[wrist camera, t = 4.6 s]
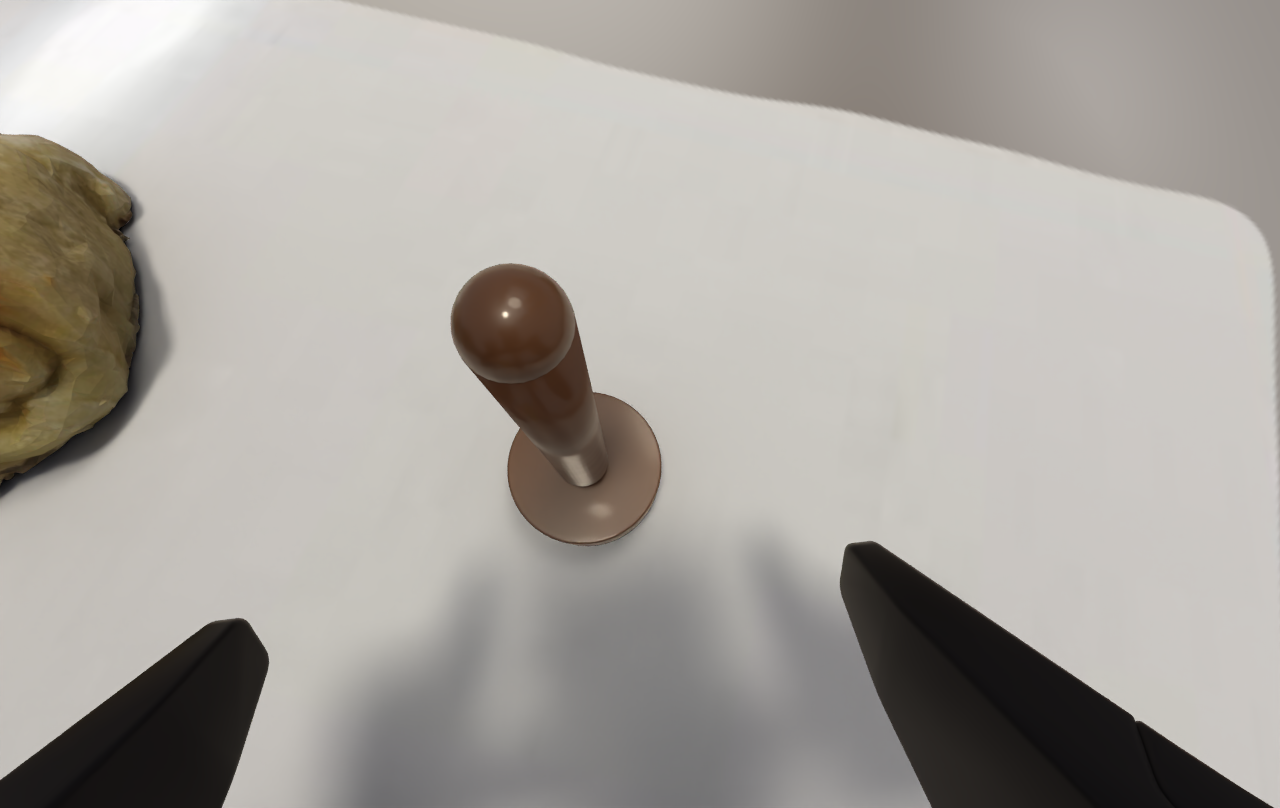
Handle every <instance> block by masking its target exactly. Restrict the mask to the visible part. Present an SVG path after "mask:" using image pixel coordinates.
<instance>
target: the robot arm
mask: <svg viewBox="0 0 1280 808" xmlns="http://www.w3.org/2000/svg"><path fill="white" fill-rule="evenodd" d="M840 590H841V594H842V598H843V601H844V603H845V606H846V609H847V612H848V614H849V617H850V620H851V623H852V625H853V628H854V631H855V634H856V637H857V639H858V642H859V645H860V648H861V650H862V653H863V656H864V659H865V661H866V664H867V667H868V670H869V672H870V675H871V678H872V680H873V683H874V686H875V688H876V691H877V693H878V696H879V698H880V700H881V702H882V705H883V707H884V709H885V711H886V713H887V715H888V717H889V719H890V721H891V724H892V726H893V728H894V730H895V732H896V734H897V736H898V738H899V740H900V742H901V744H902V746H903V748H904V751H905V753H906V755H907V757H908V759H909V761H910V763H911V765H912V767H913V769H914V771H915V773H916V775H917V777H918V780H919V782H920V784H921V786H922V788H923V790H924V792H925V794H926V796H927V798H928V800H929V802H930V804H931V806H932V808H1273V807H1272V806H1270V805H1268V804H1267V803H1265V802H1264V801H1262V800H1260V799H1259V798H1257V797H1256V796H1254V795H1252V794H1251V793H1249V792H1247V791H1246V790H1244V789H1243V788H1241V787H1239V786H1238V785H1236V784H1235V783H1233V782H1232V781H1230V780H1229V779H1227V778H1226V777H1224V776H1223V775H1221V774H1220V773H1218V772H1217V771H1215V770H1214V769H1212V768H1210V767H1209V766H1207V765H1206V764H1204V763H1203V762H1201V761H1200V760H1198V759H1197V758H1195V757H1194V756H1192V755H1191V754H1189V753H1188V752H1186V751H1185V750H1183V749H1181V748H1180V747H1178V746H1177V745H1175V744H1174V743H1173V742H1171V741H1170V740H1168V739H1167V738H1165V737H1164V736H1162V735H1161V734H1159V733H1158V732H1156V731H1155V730H1153V729H1152V728H1150V727H1149V726H1147V725H1146V724H1144V723H1143V722H1141V721H1136V722H1135V720H1134V717H1133V716H1132V715H1131V714H1129V713H1128V712H1126V711H1125V710H1123V709H1122V708H1120V707H1119V706H1117V705H1116V704H1115V703H1113V702H1112V701H1110V700H1109V699H1107V698H1106V697H1104V696H1103V695H1101V694H1100V693H1098V692H1097V691H1095V690H1094V689H1092V688H1091V687H1089V686H1088V685H1086V684H1085V683H1083V682H1082V681H1081V680H1079V679H1078V678H1076V677H1075V676H1073V675H1072V674H1070V673H1069V672H1067V671H1066V670H1064V669H1063V668H1061V667H1060V666H1058V665H1057V664H1055V663H1054V662H1052V661H1051V660H1050V659H1048V658H1047V657H1045V656H1044V655H1042V654H1041V653H1039V652H1038V651H1036V650H1035V649H1033V648H1032V647H1030V646H1029V645H1027V644H1026V643H1024V642H1023V641H1021V640H1020V639H1018V638H1017V637H1016V636H1014V635H1013V634H1011V633H1010V632H1008V631H1007V630H1005V629H1004V628H1002V627H1001V626H999V625H998V624H996V623H995V622H993V621H992V620H990V619H989V618H987V617H986V616H984V615H983V614H982V613H980V612H979V611H977V610H976V609H974V608H973V607H971V606H970V605H968V604H967V603H965V602H964V601H962V600H961V599H959V598H958V597H956V596H955V595H953V594H952V593H951V592H949V591H948V590H946V589H945V588H943V587H942V586H940V585H939V584H937V583H936V582H934V581H933V580H931V579H930V578H928V577H927V576H925V575H924V574H922V573H921V572H919V571H918V570H917V569H915V568H914V567H912V566H911V565H909V564H908V563H906V562H905V561H903V560H902V559H900V558H899V557H897V556H896V555H894V554H893V553H891V552H890V551H888V550H887V549H885V548H884V547H883V546H881V545H880V544H878V543H876V542H873V541H867V542H858V543H851V544H848V545H847V547H846V548H845V551H844V557H843V564H842V570H841V577H840ZM268 666H269V657H268V653H267V651H266V649H265V647H264V646H263V644H262V643H261V641H260V640H259V638H258V636H257V635H256V633H255V632H254V630H253V629H252V627H251V625H250V624H249V623H248V622H247V621H246V620H244V619H242V618H235V619H227V620H219V621H214V622H211V623H209V624H207V625H206V626H204V627H203V628H202V629H200V630H199V631H198V632H196V633H195V634H194V635H192V636H191V637H190V638H188V639H187V640H186V641H184V642H183V643H182V644H180V645H179V646H178V647H176V648H175V649H174V650H172V651H171V652H170V653H168V654H167V655H166V656H164V657H163V658H162V659H160V660H159V661H158V662H157V663H155V664H154V665H153V666H151V667H150V668H149V669H147V670H146V671H145V672H143V673H142V674H141V675H139V676H138V677H137V678H135V679H134V680H133V681H131V682H130V683H129V684H127V685H126V686H125V687H123V688H122V689H121V690H119V691H118V692H117V693H115V694H114V695H113V696H111V697H110V698H109V699H107V700H106V701H105V702H103V703H102V704H101V705H99V706H98V707H97V708H95V709H94V710H93V711H91V712H90V713H89V714H87V715H86V716H85V717H83V718H82V719H81V720H80V721H78V722H77V723H76V724H74V725H73V726H72V727H70V728H69V729H68V730H66V731H65V732H64V733H62V734H61V735H60V736H58V737H57V738H56V739H54V740H53V741H52V742H50V743H49V744H48V745H46V746H45V747H44V748H42V749H41V750H40V751H38V752H37V753H36V754H34V755H33V756H32V757H30V758H29V759H28V760H26V761H25V762H24V763H22V764H21V765H20V766H18V767H17V768H16V769H14V770H13V771H12V772H10V773H9V774H8V775H6V776H5V777H4V778H2V779H1V780H0V808H222V806H223V803H224V801H225V798H226V796H227V793H228V791H229V788H230V786H231V783H232V780H233V777H234V774H235V772H236V769H237V766H238V763H239V760H240V757H241V754H242V751H243V747H244V744H245V741H246V738H247V735H248V732H249V728H250V725H251V722H252V719H253V716H254V713H255V709H256V706H257V703H258V700H259V697H260V694H261V690H262V687H263V684H264V681H265V678H266V675H267V671H268Z"/></svg>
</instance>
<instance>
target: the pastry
mask: <svg viewBox="0 0 1280 808" xmlns="http://www.w3.org/2000/svg"><path fill="white" fill-rule="evenodd" d="M130 208H131V198H130V197H129V196H128V195H127V193H126V192H125V191H124V190H123V189H122V188H121V187H120V186H118V185H117V184H116V183H115V182H113V181H112V180H111V179H109V178H108V177H106V176H104V175H103V174H101V173H100V172H99V171H98V170H97V169H96V168H95V167H94V166H93V165H91V164H90V163H89V162H87V161H86V160H85V159H83V158H82V157H81V156H79V155H77V154H75V153H74V152H72V151H70V150H68V149H66V148H64V147H63V146H61V145H59V144H57V143H54V142H52V141H50V140H47V139H45V138H42V137H40V136H36V135H4V134H1V133H0V485H1V482H2V480H3V479H5V480H9V479H12V478H13V477H14V473H15V472H17V473H25V472H26V471H28V470H29V469H31V468H32V467H34V466H35V465H37V464H38V463H39V462H40V461H42V460H43V459H45V458H46V457H48V456H49V455H51V454H52V453H54V452H55V451H57V450H58V449H59V448H61V447H62V446H63V445H64V444H65V443H67V442H68V441H69V440H70V438H71V437H72V436H74V435H76V434H79V433H81V432H83V431H86V430H88V429H91V428H93V427H94V424H95V423H96V422H98V421H99V420H100V419H102V418H103V417H104V416H106V415H108V414H110V410H112V409H113V408H114V407H115V406H116V404H117V403H118V401H119V400H120V398H121V397H122V396H123V395H124V394H125V393H126V392H127V391H128V388H127V381H128V376H129V367H131V366H130V365H131V358H132V356H133V354H132V352H134V351H135V347H136V333H137V332H138V331H139V329H140V326H139V324H138V320H137V319H138V317H139V313H138V312H140V311H139V296H138V295H137V294H135V290H136V289H135V283H134V278H135V275H136V271H135V269H134V267H133V262H132V257H131V253H130V251H129V250H128V248H127V247H126V245H125V242H126V241H127V240H128V239H130V238H128V237H126V236H124V235H123V233H122V232H120V231H119V230H118V229H119V228H120V227H122V226H124V225H125V224H126V223H127V222H128V221H129V220H130V218H131V217H132V212H131V210H130Z"/></svg>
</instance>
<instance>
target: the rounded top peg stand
mask: <svg viewBox="0 0 1280 808" xmlns="http://www.w3.org/2000/svg"><path fill="white" fill-rule="evenodd" d="M451 334H452V338H453V342H454V345H455V347H456V349H457V351H458V353H459V355H460V357H461V358H462V360H463V361H464V362H465V364H466V365H467V366H468V367H469V368H470V369H471V371H472V372H473V373H474V374H475V375H476V376H477V378H478V379H479V380H480V381H481V382H482V384H483V385H484V386H485V387H486V388H487V389H488V391H489V392H490V393H491V394H492V395H493V397H494V398H495V399H496V400H497V401H498V402H499V404H500V405H501V406H502V407H503V408H504V409H505V411H506V412H507V413H508V414H509V415H510V417H511V418H512V419H513V420H514V421H515V422H516V424H517V425H518V426H519V427H520V429H519V431H518V433H517V434H516V436H515V438H514V441H513V443H512V446H511V449H510V453H509V458H508V466H507V467H508V482H509V488H510V491H511V495H512V497H513V500H514V502H515V504H516V506H517V508H518V509H519V511H520V512H521V514H522V515H523V516H524V518H525V519H526V520H527V521H528V522H529V523H530V524H531V525H532V526H533V527H534V528H535V529H537V530H538V531H540V532H541V533H543V534H544V535H546V536H548V537H550V538H552V539H555V540H558V541H561V542H564V543H568V544H573V545H578V546H596V545H601V544H606V543H609V542H612V541H615V540H617V539H619V538H621V537H623V536H624V535H626V534H627V533H629V532H630V531H632V530H633V529H634V528H635V527H636V526H637V525H638V524H639V523H640V522H641V521H642V520H643V518H644V517H645V516H646V514H647V513H648V511H649V510H650V508H651V506H652V503H653V501H654V499H655V496H656V493H657V490H658V487H659V483H660V477H661V455H660V450H659V446H658V443H657V440H656V437H655V435H654V433H653V431H652V429H651V427H650V426H649V425H648V423H647V422H646V420H645V419H644V418H643V417H642V416H641V415H640V414H639V413H638V412H637V411H636V410H635V409H634V408H632V407H631V406H630V405H628V404H627V403H625V402H623V401H621V400H619V399H617V398H615V397H612V396H609V395H606V394H601V393H596V392H593V391H592V387H591V382H590V378H589V374H588V370H587V365H586V361H585V357H584V353H583V348H582V344H581V340H580V336H579V331H578V327H577V323H576V319H575V314H574V311H573V308H572V305H571V303H570V301H569V299H568V297H567V295H566V293H565V292H564V290H563V289H562V288H561V287H560V285H559V284H558V283H557V282H556V281H555V280H553V279H552V278H551V277H550V276H548V275H547V274H546V273H544V272H542V271H540V270H538V269H536V268H534V267H530V266H526V265H522V264H512V263H509V264H499V265H495V266H492V267H489V268H486V269H484V270H482V271H480V272H479V273H477V274H476V275H474V276H473V277H472V278H471V279H470V280H469V281H468V282H467V283H466V284H465V285H464V286H463V288H462V289H461V290H460V292H459V294H458V295H457V297H456V300H455V302H454V304H453V308H452V313H451Z"/></svg>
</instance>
